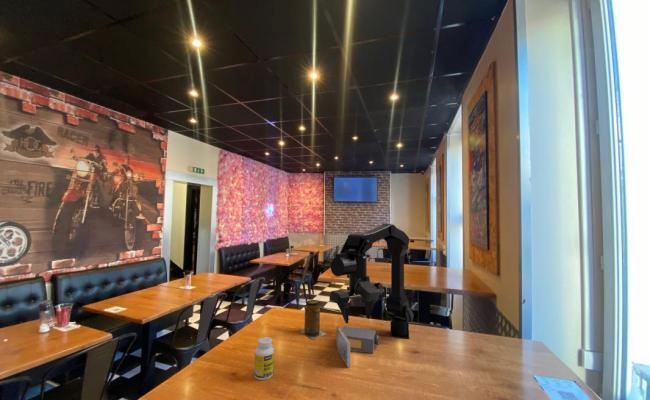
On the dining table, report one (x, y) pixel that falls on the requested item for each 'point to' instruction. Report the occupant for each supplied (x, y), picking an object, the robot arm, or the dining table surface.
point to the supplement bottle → (264, 359)
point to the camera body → (360, 338)
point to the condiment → (312, 320)
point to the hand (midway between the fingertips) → (357, 320)
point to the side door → (343, 347)
